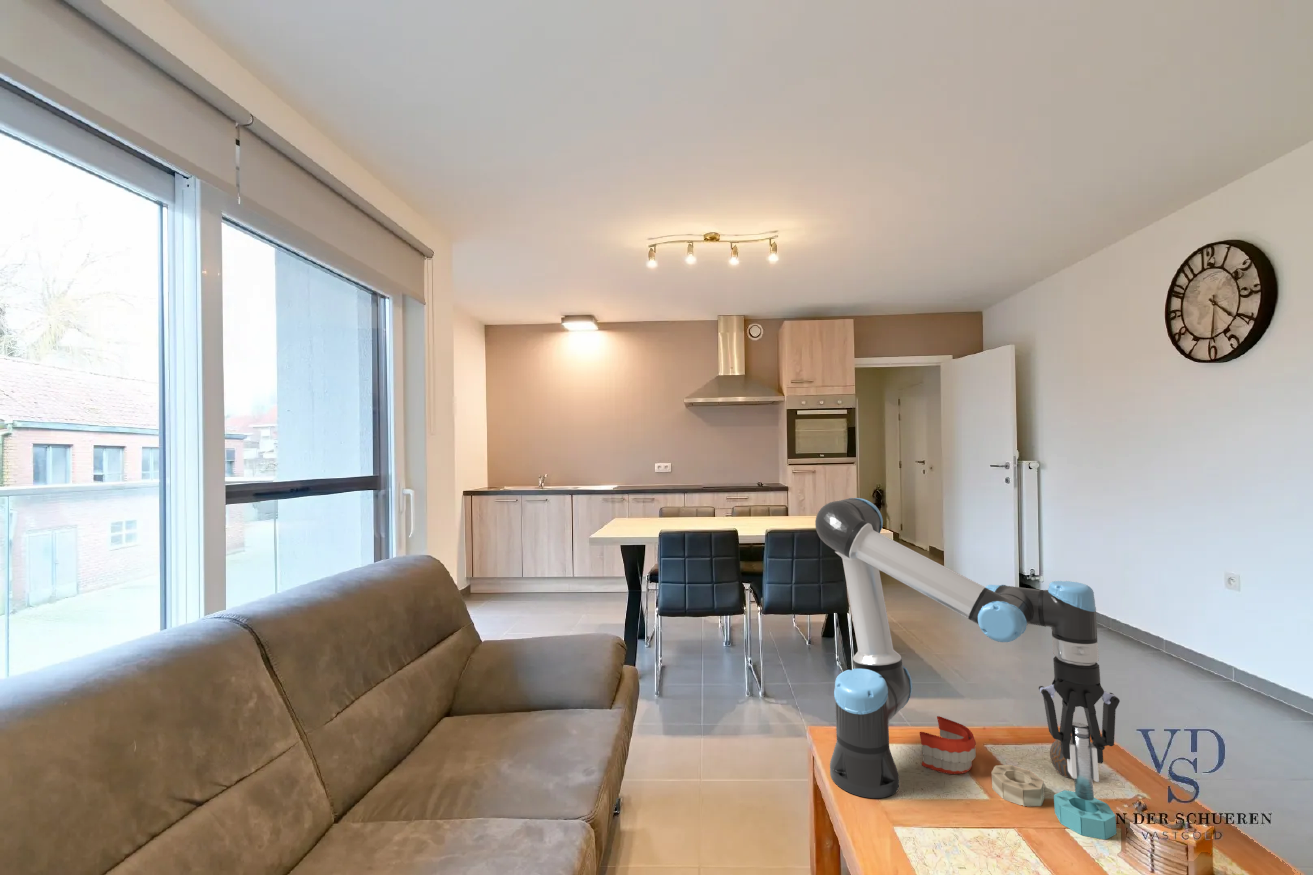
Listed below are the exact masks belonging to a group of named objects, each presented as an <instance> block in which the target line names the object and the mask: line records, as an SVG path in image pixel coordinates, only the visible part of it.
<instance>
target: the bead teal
mask: <svg viewBox="0 0 1313 875" xmlns="http://www.w3.org/2000/svg"><path fill="white" fill-rule="evenodd" d="M1053 803H1054V804H1053V805H1054V814H1055V817H1056V818H1057V819H1058V821H1059V823H1060V824H1061V826H1064V827H1065V828H1068V829H1070V830H1071V831H1073V832H1075V833H1077V835H1080V836H1083V837H1087V838H1089V837H1090V838H1094V839H1099V840H1104V841H1105V840H1108V839H1110V838H1112V837H1114V836H1116V835H1117V821H1116V813H1115V812H1114V811H1113V809H1112V808H1111V807H1110V806H1109V804H1108V803H1106V802H1105V801H1103V800H1100V799H1099V798H1097V797H1094V800H1092V801H1088V800H1084V799H1081V798H1079V797H1077V796H1076V794H1075V791H1072V790H1068V789H1067V790H1065V789H1064V790H1061V791H1060V792H1057V793H1055V794H1054V795H1053Z"/></svg>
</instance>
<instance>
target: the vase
mask: <svg viewBox="0 0 1313 875" xmlns="http://www.w3.org/2000/svg"><path fill="white" fill-rule="evenodd" d="M1071 741H1072V735H1071ZM1049 756H1050V757H1049V758H1050V761H1051V764H1052V766H1053V767H1054V769H1055V771H1057V772H1058V773H1059V774H1060V775H1062V776H1063V777H1065V778H1069V779H1074V778H1072V776H1071V775H1070V773H1069V772H1068V766H1067V759H1065V758H1064V757H1063V755H1062V753H1061V743H1060V740H1058V739H1057V740H1056V739H1055V740H1054V742H1052V744H1051V746H1050V751H1049Z"/></svg>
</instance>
